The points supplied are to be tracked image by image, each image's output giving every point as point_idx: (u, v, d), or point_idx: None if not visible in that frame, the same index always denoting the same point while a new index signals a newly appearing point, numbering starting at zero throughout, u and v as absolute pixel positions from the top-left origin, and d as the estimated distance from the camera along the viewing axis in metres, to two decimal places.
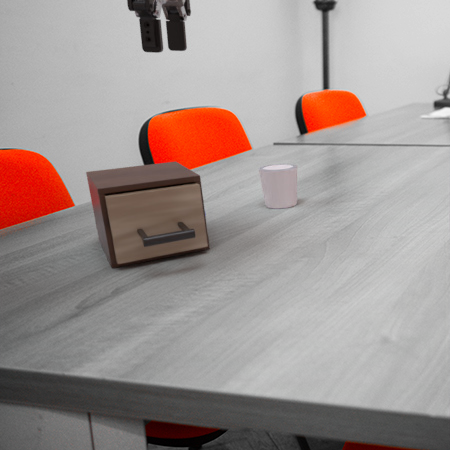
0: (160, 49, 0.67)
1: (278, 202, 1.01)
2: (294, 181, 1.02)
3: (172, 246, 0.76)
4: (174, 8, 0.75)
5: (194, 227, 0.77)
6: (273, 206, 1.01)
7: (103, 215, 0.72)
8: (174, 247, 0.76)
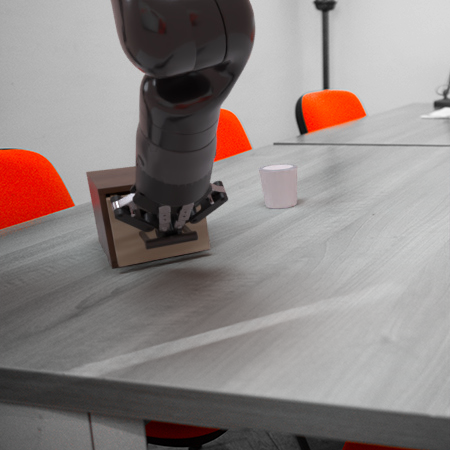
0: None
1: (278, 202, 1.01)
2: (294, 181, 1.02)
3: (174, 249, 0.75)
4: None
5: (196, 229, 0.76)
6: (273, 206, 1.01)
7: (103, 215, 0.72)
8: (176, 249, 0.75)
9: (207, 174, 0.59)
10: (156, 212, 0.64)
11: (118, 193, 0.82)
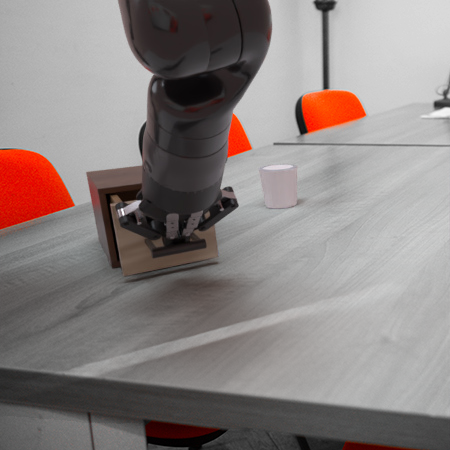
0: None
1: (278, 202, 1.01)
2: (294, 181, 1.02)
3: (181, 257, 0.72)
4: None
5: (204, 236, 0.73)
6: (273, 206, 1.01)
7: (103, 215, 0.72)
8: (183, 257, 0.72)
9: (218, 180, 0.56)
10: (163, 220, 0.61)
11: (122, 198, 0.78)
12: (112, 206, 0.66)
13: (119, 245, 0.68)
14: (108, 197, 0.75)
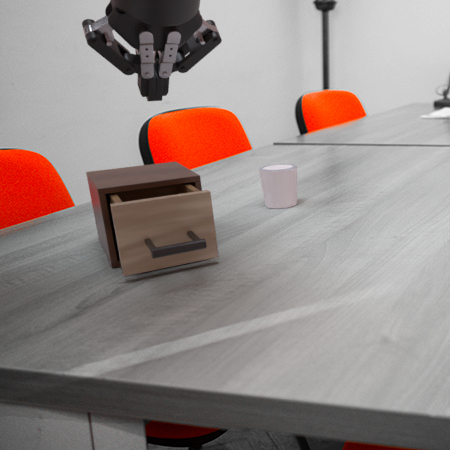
0: (148, 100, 0.62)
1: (278, 202, 1.01)
2: (294, 181, 1.02)
3: (181, 257, 0.72)
4: None
5: (204, 236, 0.73)
6: (273, 206, 1.01)
7: (103, 215, 0.72)
8: (183, 257, 0.72)
9: None
10: (137, 45, 0.55)
11: (122, 198, 0.78)
12: (112, 206, 0.66)
13: (119, 245, 0.68)
14: (108, 197, 0.75)
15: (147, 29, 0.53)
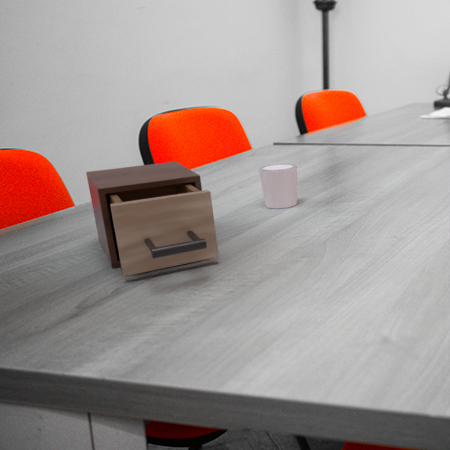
0: None
1: (278, 202, 1.01)
2: (294, 181, 1.02)
3: (181, 257, 0.72)
4: None
5: (204, 236, 0.73)
6: (273, 206, 1.01)
7: (103, 215, 0.72)
8: (183, 257, 0.72)
9: None
10: None
11: (122, 198, 0.78)
12: (112, 206, 0.66)
13: (119, 245, 0.68)
14: (108, 197, 0.75)
15: None
